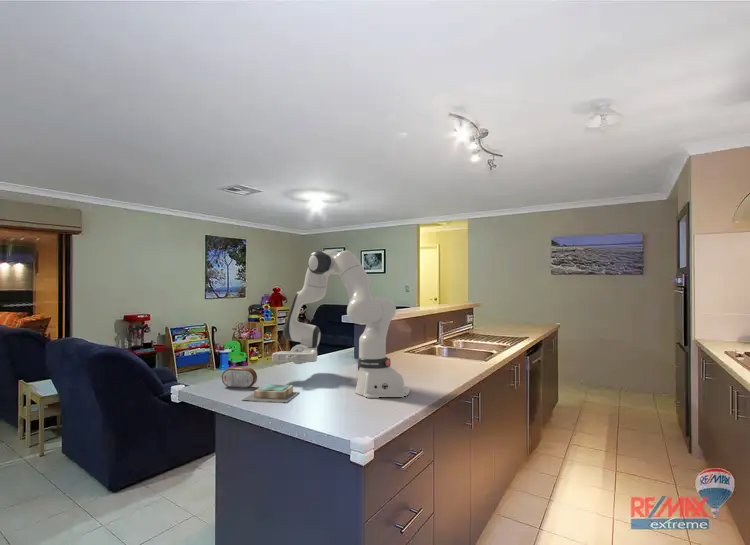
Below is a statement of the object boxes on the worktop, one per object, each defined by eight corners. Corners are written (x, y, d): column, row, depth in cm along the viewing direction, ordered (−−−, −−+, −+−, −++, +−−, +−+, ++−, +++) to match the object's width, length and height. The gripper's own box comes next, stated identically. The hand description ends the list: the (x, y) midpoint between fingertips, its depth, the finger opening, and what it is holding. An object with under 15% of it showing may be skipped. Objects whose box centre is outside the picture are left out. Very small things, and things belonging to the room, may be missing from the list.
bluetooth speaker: (257, 386, 161) (257, 367, 161) (254, 388, 158) (254, 368, 158) (224, 385, 163) (224, 366, 163) (220, 387, 160) (220, 368, 160)
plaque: (293, 384, 152) (283, 391, 143) (292, 391, 152) (283, 398, 142) (265, 383, 154) (254, 390, 144) (265, 390, 154) (253, 397, 144)
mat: (299, 393, 151) (299, 392, 151) (287, 403, 138) (287, 402, 138) (257, 391, 154) (257, 390, 154) (241, 400, 141) (241, 399, 141)
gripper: (278, 347, 178) (266, 352, 164) (320, 347, 175) (310, 352, 161) (278, 360, 178) (266, 366, 164) (320, 361, 174) (310, 367, 161)
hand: (288, 359), depth 162 cm, fingers closed
